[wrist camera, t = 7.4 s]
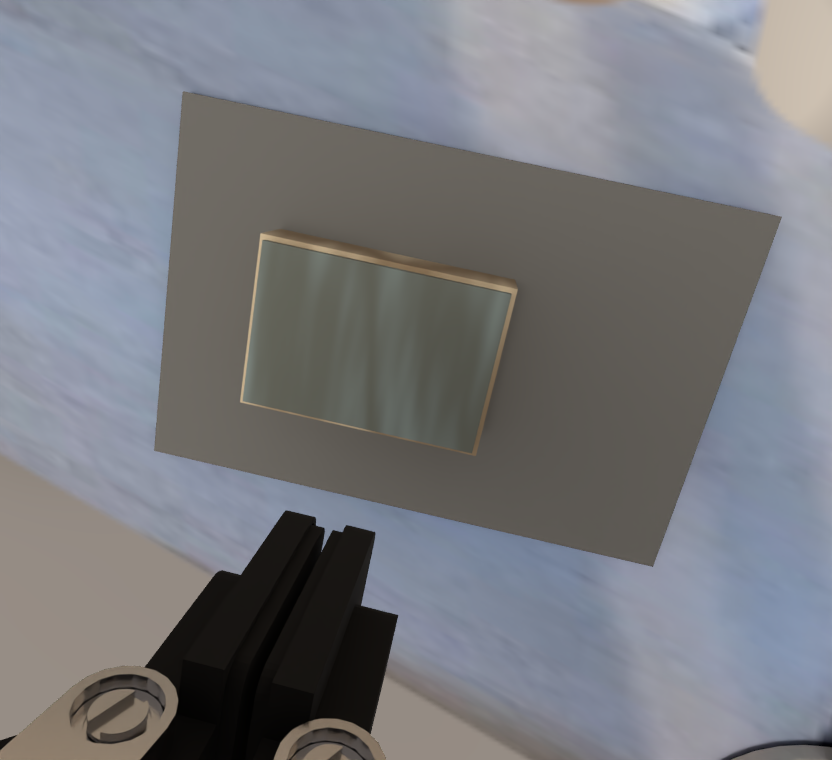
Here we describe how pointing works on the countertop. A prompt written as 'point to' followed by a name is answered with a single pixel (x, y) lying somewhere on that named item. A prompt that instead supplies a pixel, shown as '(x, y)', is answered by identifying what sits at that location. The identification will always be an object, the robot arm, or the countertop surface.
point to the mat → (525, 340)
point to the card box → (375, 339)
